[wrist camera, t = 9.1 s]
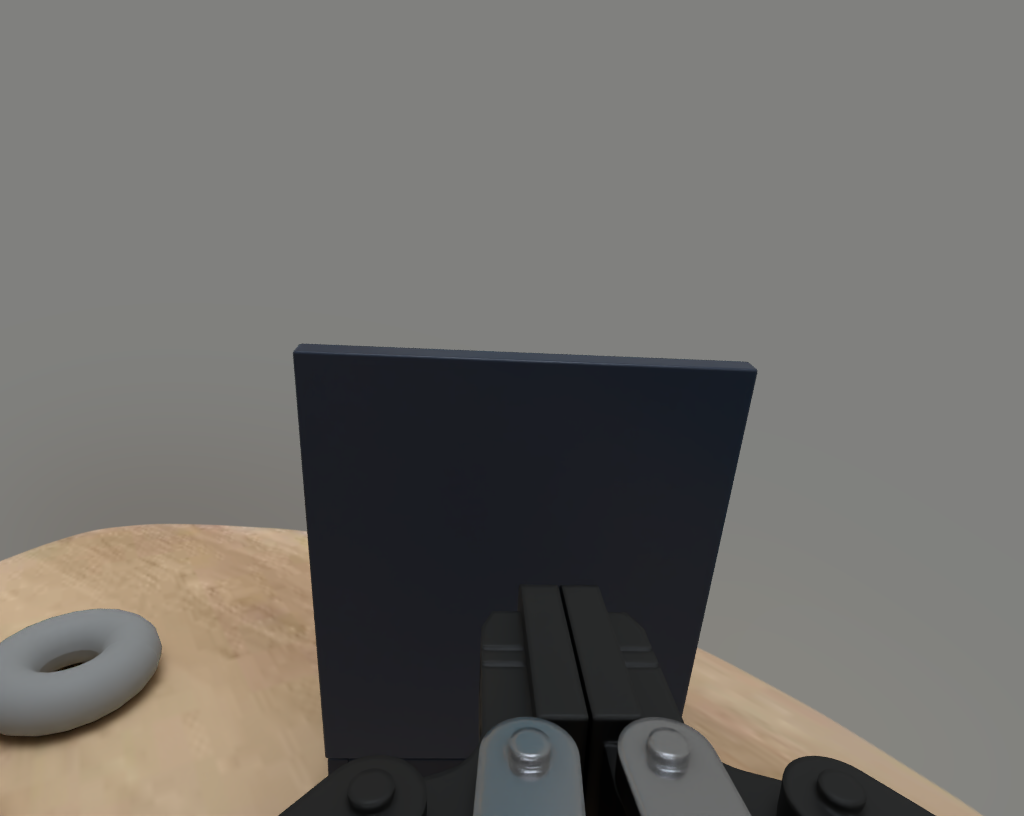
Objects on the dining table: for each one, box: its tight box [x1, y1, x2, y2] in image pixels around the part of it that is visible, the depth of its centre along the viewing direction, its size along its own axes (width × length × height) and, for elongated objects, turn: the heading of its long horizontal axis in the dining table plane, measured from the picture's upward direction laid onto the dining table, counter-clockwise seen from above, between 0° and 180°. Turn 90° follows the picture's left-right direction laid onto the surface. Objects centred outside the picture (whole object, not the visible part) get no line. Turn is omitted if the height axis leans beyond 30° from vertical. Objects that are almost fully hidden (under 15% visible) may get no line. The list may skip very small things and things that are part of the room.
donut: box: [0, 609, 162, 736], centre depth 40 cm, size 10×4×10 cm
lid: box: [293, 344, 757, 758], centre depth 22 cm, size 16×14×1 cm
